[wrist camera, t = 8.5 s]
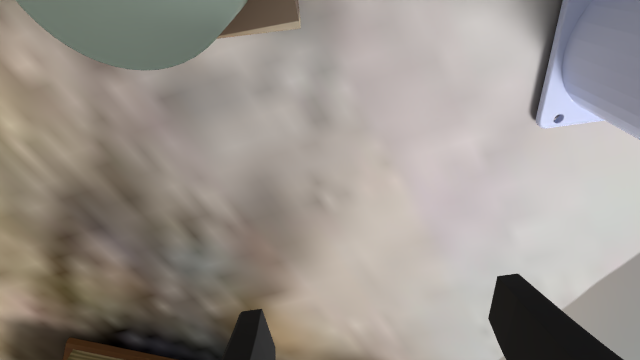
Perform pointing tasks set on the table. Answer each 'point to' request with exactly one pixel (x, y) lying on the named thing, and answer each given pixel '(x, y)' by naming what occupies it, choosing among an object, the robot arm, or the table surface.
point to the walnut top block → (263, 15)
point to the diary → (103, 352)
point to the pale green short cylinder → (135, 28)
